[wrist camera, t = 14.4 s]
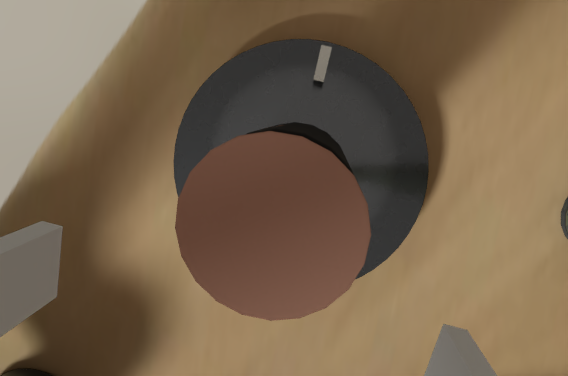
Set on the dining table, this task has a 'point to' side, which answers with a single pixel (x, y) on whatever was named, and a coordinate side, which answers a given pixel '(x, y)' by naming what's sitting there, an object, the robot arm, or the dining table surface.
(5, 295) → the robot arm
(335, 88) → the disc
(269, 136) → the coffee jar
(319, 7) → the dining table surface
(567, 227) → the thermos
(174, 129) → the dining table surface
